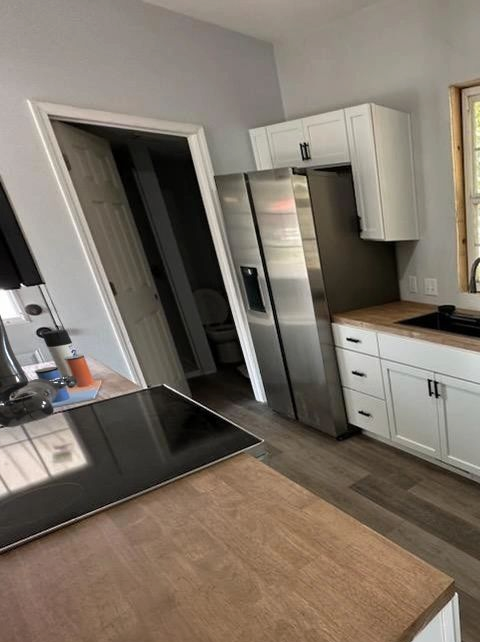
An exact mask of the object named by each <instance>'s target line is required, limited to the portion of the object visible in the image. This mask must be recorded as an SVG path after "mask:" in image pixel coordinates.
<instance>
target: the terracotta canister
mask: <svg viewBox="0 0 480 642" xmlns="http://www.w3.org/2000/svg"><path fill="white" fill-rule="evenodd" d="M64 360H65V361H66V364H67V366H68V368H69V371H70V373H71V375H72V376H75V378H76V380H77V382H78V383H77V384H76V386H77V387H85V386H90V385H93V384H95V380H94V377H93V374H92V372H91V370H90V367H89V365H88V363H87V361H86V358H85V355H84V354H77V355H74V356H69V357H66V358H64Z"/></svg>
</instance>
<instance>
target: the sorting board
mask: <svg viewBox="0 0 480 642" xmlns="http://www.w3.org/2000/svg"><path fill="white" fill-rule="evenodd" d="M94 382H95V384H93V385H90V386H85V387H77V386H76V385H75V387H73V388H69V387H68V386H65V387H66V389H67V391H68V393H69V396H70V398H69V399H67V400H64V401H60V402H54V403H52V405H53V408H57V407H62V406H67V405H73V404H77V403H82V402H87V401H93V400H95V398H96V397H97V394H98V392H99V389H100V387H101V384H102V383H103V381H102V380H96V381H95V380H94Z"/></svg>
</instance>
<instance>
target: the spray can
mask: <svg viewBox="0 0 480 642" xmlns="http://www.w3.org/2000/svg"><path fill="white" fill-rule="evenodd" d="M41 336H42V338H43V341H44V343H45V345H46V348H47V350H48V352H49V354H50V356H51V358H52V360H53V363H54V364H55V367H57V368H58V371H59V373H60V375H61V378H62V377H63V376H64V375H67V376H72V375H71V373H70V371H69V368H68V366H67V364H66V361H65V360H64V358H66V357H69V356H74V355H78V352H77V350H76V348H75V346H74V344H73V341H72V339H71V337H70V334H69V333H68V331H67V329H56V330H49V331H44V332H43V333H41ZM63 382H64V381H63Z"/></svg>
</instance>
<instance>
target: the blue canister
mask: <svg viewBox="0 0 480 642" xmlns="http://www.w3.org/2000/svg"><path fill="white" fill-rule="evenodd" d="M34 373H35V374H36V377H37V379H46V380H52V379H55V378H62V377H61V375H60V373H59V371H58V368H57V367H56V366H49V367H43V368H39V369H36V370H34ZM54 382H56V381H54ZM62 382H63V380H62ZM63 383H64V382H63ZM66 387H67V386H65V387H64V388H62V389H59V392H58V395H57V396H56V398H55V399H54V401H53V402H52V403H54V402H60V401H64V400H67V399H69V398H70V396H69V393H68V391H67V389H66Z"/></svg>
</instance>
